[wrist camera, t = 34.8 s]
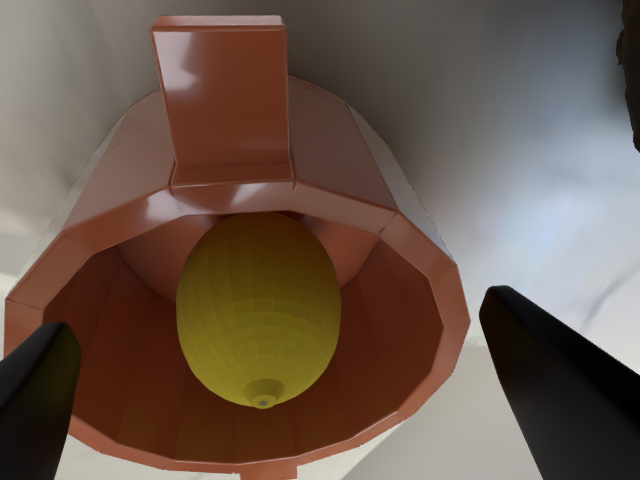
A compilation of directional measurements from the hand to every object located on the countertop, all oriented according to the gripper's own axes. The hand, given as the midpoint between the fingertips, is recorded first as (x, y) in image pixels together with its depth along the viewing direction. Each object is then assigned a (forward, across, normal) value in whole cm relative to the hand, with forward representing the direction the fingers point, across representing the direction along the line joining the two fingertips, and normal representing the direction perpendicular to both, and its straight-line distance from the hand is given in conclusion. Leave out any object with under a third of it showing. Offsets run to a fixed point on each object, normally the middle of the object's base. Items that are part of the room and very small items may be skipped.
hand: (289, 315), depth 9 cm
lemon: (+8, +1, +4) cm, 9 cm away
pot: (+9, +1, +4) cm, 10 cm away
